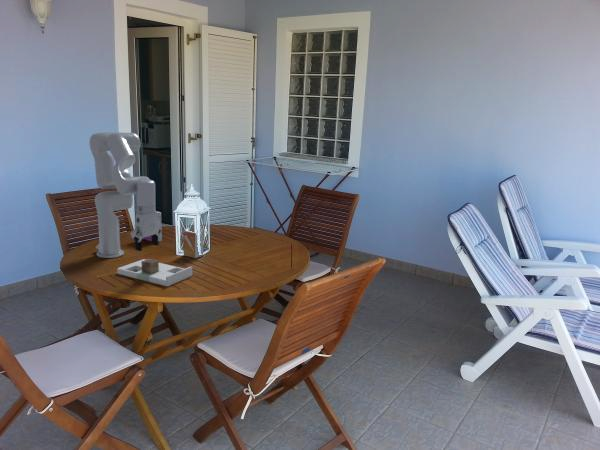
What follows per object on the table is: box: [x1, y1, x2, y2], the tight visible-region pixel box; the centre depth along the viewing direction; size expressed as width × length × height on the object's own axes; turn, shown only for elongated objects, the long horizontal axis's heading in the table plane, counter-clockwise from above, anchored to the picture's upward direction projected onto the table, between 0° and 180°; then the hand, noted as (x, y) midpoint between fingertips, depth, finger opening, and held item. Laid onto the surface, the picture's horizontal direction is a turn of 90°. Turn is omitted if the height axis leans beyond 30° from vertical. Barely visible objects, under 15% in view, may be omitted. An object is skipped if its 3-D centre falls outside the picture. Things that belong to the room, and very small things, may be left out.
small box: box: [182, 230, 204, 259], centre depth 245 cm, size 8×6×13 cm
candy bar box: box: [142, 211, 163, 243], centre depth 268 cm, size 11×5×16 cm, turn 58°
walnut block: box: [141, 258, 160, 274], centre depth 212 cm, size 5×5×5 cm
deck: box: [116, 258, 193, 287], centre depth 216 cm, size 29×16×4 cm, turn 63°
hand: (146, 247), depth 210 cm, fingers open, 9 cm apart
